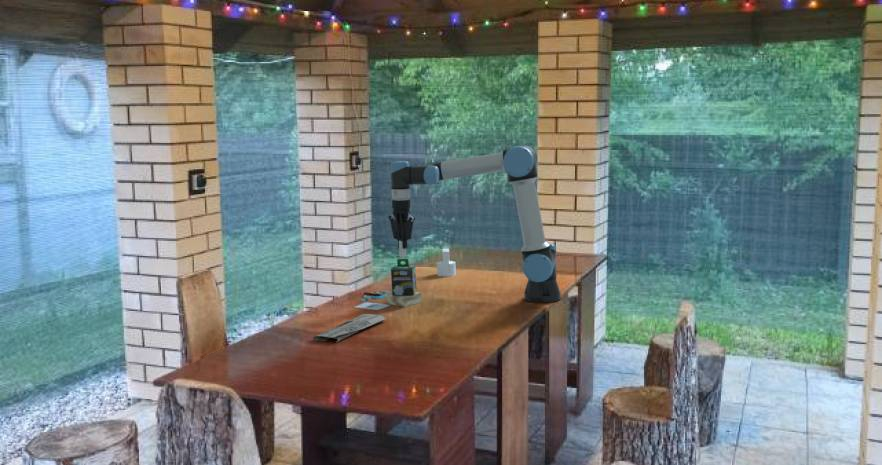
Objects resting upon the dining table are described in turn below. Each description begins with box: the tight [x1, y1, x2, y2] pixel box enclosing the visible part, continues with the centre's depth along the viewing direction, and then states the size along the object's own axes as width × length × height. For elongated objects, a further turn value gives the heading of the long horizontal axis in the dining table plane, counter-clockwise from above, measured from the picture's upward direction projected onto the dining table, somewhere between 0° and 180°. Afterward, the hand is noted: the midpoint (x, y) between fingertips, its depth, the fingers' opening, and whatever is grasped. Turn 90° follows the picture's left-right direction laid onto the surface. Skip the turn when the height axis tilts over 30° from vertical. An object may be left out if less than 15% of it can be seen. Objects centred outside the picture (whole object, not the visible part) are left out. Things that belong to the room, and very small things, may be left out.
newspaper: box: [312, 313, 388, 343], centre depth 310 cm, size 35×12×4 cm, turn 155°
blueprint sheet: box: [353, 301, 391, 311], centre depth 347 cm, size 12×9×1 cm
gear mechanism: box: [360, 285, 390, 303], centre depth 366 cm, size 20×5×9 cm
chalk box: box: [390, 258, 418, 296], centre depth 350 cm, size 9×9×15 cm
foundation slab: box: [386, 291, 423, 308], centre depth 351 cm, size 10×10×4 cm
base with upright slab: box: [436, 248, 457, 278], centre depth 408 cm, size 9×9×12 cm
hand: (402, 256), depth 349 cm, fingers closed
